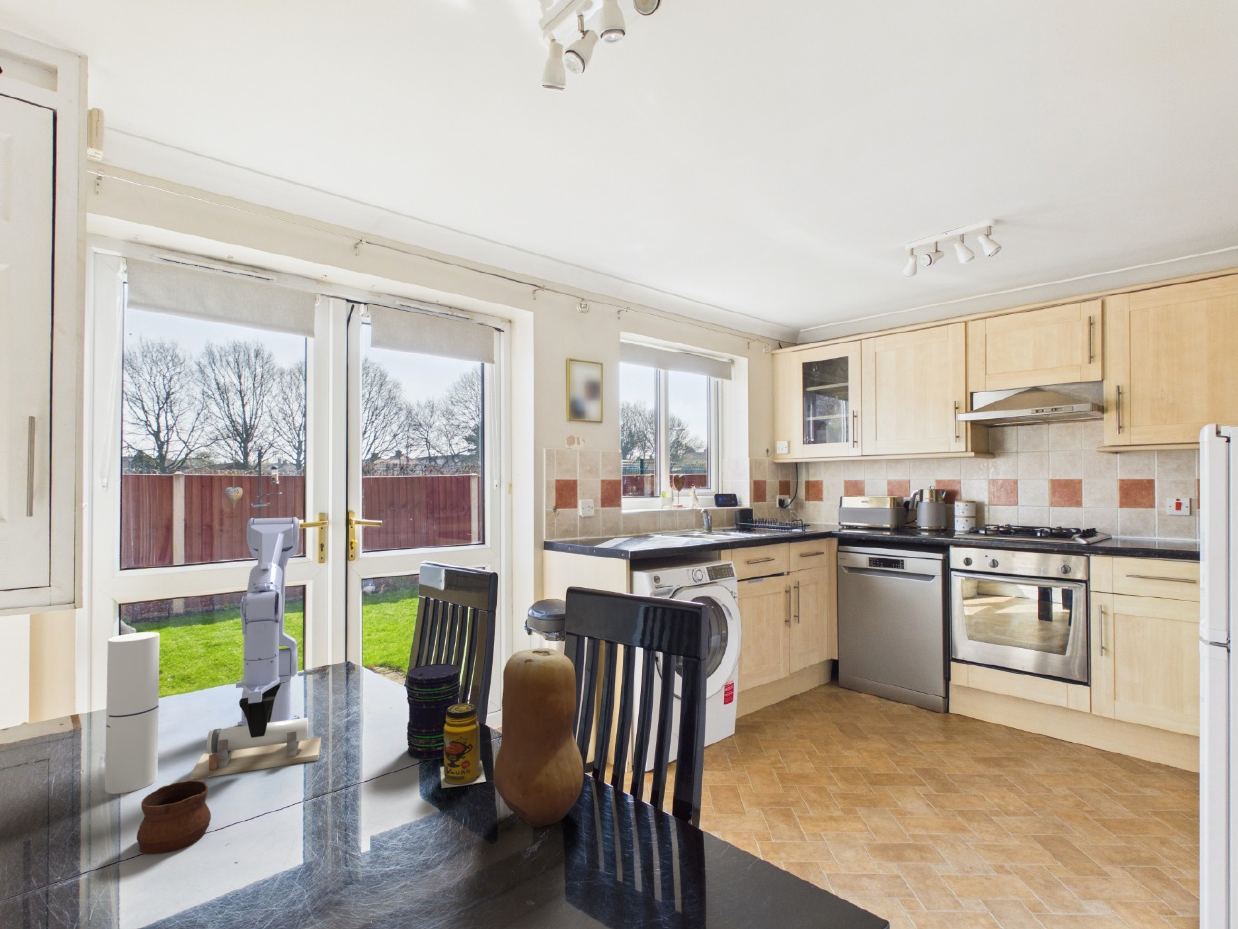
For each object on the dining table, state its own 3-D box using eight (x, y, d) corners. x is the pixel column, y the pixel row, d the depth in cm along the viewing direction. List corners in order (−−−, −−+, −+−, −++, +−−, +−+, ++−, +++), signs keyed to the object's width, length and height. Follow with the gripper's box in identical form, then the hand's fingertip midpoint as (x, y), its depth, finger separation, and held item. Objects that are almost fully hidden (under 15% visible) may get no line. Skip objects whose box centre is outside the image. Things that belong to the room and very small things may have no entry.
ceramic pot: (268, 830, 93) (268, 782, 94) (122, 896, 79) (121, 839, 79) (214, 799, 104) (213, 755, 104) (76, 852, 89) (76, 802, 89)
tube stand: (190, 780, 109) (190, 747, 110) (203, 759, 118) (203, 729, 118) (318, 760, 117) (318, 730, 117) (321, 742, 125) (321, 714, 125)
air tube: (308, 735, 122) (308, 714, 122) (306, 744, 119) (306, 721, 119) (211, 749, 116) (211, 726, 116) (206, 758, 113) (206, 735, 113)
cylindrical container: (128, 795, 104) (131, 642, 105) (93, 791, 106) (96, 640, 106) (167, 775, 111) (170, 632, 112) (134, 772, 113) (136, 631, 113)
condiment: (441, 789, 105) (441, 716, 106) (440, 768, 113) (440, 700, 114) (486, 783, 107) (485, 711, 108) (481, 762, 115) (481, 696, 116)
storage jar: (440, 734, 128) (440, 660, 129) (470, 747, 122) (470, 669, 123) (396, 751, 121) (396, 672, 121) (426, 764, 114) (426, 681, 115)
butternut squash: (601, 809, 98) (599, 646, 99) (548, 853, 86) (547, 668, 87) (530, 788, 105) (529, 637, 106) (473, 826, 93) (473, 656, 94)
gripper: (243, 649, 123) (243, 720, 123) (228, 669, 110) (227, 748, 109) (284, 646, 126) (283, 715, 125) (274, 664, 112) (273, 742, 112)
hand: (260, 730), depth 118 cm, fingers open, 6 cm apart
